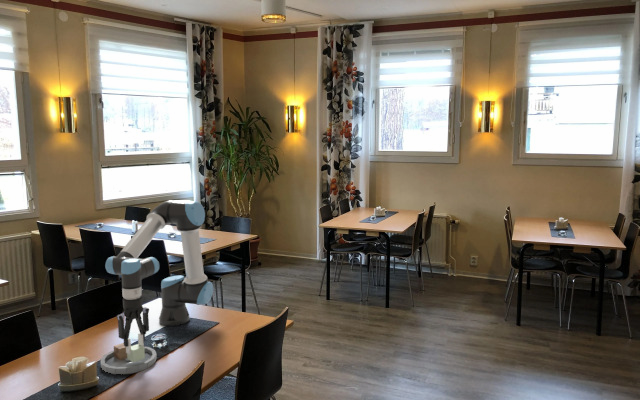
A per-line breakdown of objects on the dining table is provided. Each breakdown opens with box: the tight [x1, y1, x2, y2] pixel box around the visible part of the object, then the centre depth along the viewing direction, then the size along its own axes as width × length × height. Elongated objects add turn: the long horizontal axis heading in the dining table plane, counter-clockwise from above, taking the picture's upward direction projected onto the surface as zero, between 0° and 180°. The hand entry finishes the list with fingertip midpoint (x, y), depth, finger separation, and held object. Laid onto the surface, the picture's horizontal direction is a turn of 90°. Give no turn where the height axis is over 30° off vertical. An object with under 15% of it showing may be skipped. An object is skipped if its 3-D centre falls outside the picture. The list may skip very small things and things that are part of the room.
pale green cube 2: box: [127, 343, 145, 362], centre depth 217 cm, size 5×5×5 cm
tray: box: [100, 346, 158, 375], centre depth 221 cm, size 22×22×3 cm
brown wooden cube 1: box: [113, 342, 127, 360], centre depth 225 cm, size 5×5×5 cm
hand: (134, 350), depth 217 cm, fingers closed on pale green cube 2, 5 cm apart
